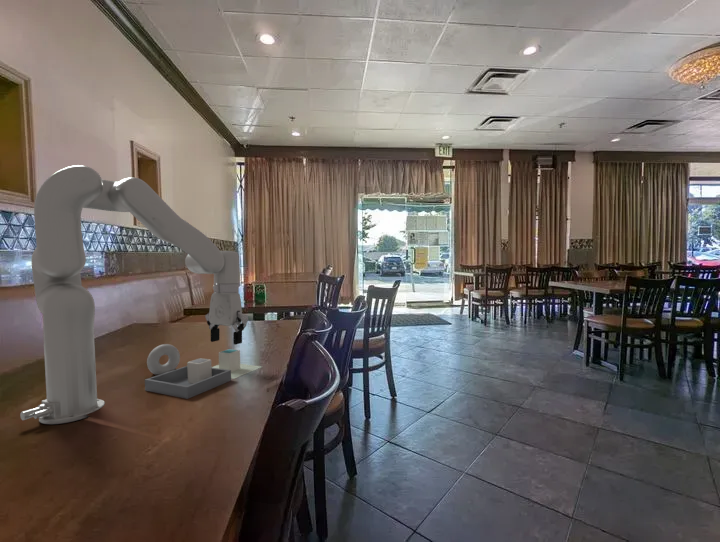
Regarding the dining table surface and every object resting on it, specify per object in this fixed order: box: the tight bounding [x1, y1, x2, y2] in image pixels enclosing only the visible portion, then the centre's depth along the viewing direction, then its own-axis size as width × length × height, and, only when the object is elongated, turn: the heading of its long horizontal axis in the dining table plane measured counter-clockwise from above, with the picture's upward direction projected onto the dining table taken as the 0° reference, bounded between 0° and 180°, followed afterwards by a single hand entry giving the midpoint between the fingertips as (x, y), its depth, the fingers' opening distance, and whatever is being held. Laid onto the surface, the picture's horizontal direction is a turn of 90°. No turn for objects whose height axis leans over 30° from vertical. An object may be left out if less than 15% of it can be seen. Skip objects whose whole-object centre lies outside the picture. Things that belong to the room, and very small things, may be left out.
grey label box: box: [186, 358, 213, 384], centre depth 107 cm, size 5×5×6 cm
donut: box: [146, 343, 181, 376], centre depth 117 cm, size 10×4×10 cm, turn 143°
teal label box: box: [218, 348, 241, 372], centre depth 118 cm, size 5×5×6 cm
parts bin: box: [144, 365, 232, 400], centre depth 104 cm, size 15×17×4 cm
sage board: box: [212, 363, 262, 380], centre depth 118 cm, size 13×16×1 cm
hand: (226, 342), depth 117 cm, fingers open, 9 cm apart
